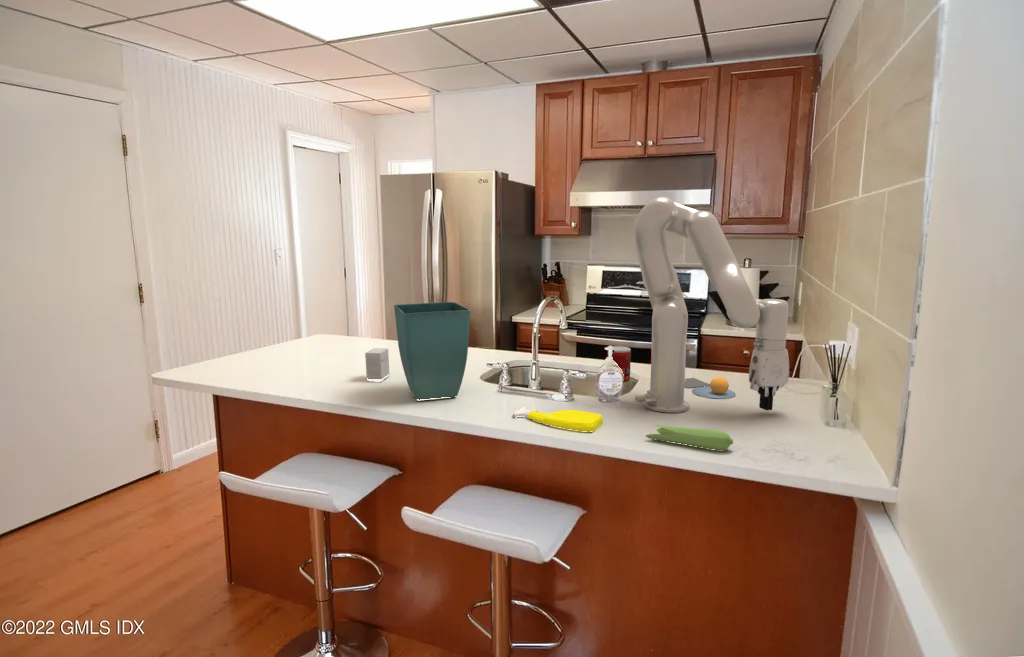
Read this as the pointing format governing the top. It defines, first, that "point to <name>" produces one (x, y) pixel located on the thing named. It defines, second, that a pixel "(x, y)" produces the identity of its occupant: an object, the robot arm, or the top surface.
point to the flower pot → (433, 347)
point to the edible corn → (693, 437)
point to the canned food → (623, 360)
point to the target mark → (712, 393)
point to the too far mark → (694, 383)
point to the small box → (377, 363)
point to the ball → (719, 385)
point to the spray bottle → (564, 418)
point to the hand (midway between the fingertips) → (765, 408)
